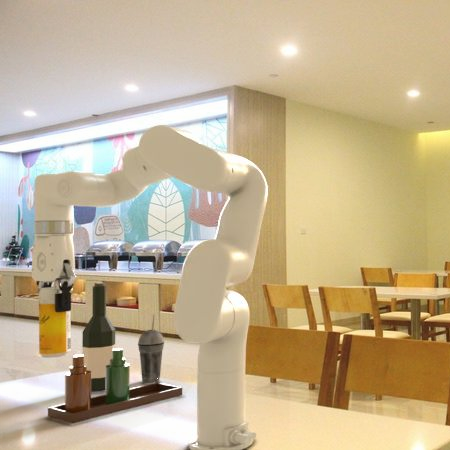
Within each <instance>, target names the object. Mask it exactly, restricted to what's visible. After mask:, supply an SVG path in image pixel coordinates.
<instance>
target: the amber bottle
mask: <svg viewBox="0 0 450 450" xmlns="http://www.w3.org/2000/svg"><path fill="white" fill-rule="evenodd" d="M91 398H92V392H91V371H89V370H87V365H84V355H82V354H75V355H73V356H72V365H71V366H69V371H68V372H66V373H64V404H65V411H67V412H71V413H76V412H80V411H84V410H89V409H91Z"/></svg>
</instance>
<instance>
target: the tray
mask: <svg viewBox="0 0 450 450" xmlns="http://www.w3.org/2000/svg"><path fill="white" fill-rule="evenodd" d="M182 395H183V387H182V386H177V385H173V384H168V383H164V382H160V381H159V382H157V383H155V382H153V383H148V384H145V385H141V386H136V387H131V388H129V400H125V401H121V402H117V403H113V404H109V405H105V394H102V395H101V394H100V395H97V396H91V409H89V410H84V411H80V412H76V413H71V412H67V411H65V403H62V404H57V405H53V406H49V407H47V417H49V418H52V419H55V420H59V421H63V422H66V423H69V424H76V423H80V422H83V421H88V420H91V419H95V418H99V417H103V416H108V415H110V414H115V413H118V412H122V411H125V410H130V409H134V408H138V407H141V406H145V405H149V404H153V403H157V402H160V401H164V400H169V399H172V398H177V397H180V396H182Z"/></svg>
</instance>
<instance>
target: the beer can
mask: <svg viewBox="0 0 450 450" xmlns="http://www.w3.org/2000/svg"><path fill="white" fill-rule="evenodd" d="M55 294H58V293H57V290H56V286H53V287H48V288H41V291H40V293H38V341H39V342H38V343H39V344H38V354H39V355H41V358H45V359H46V358H60V357H66V356H68V355H69V353H70V352H71V351H72V340H71V339H72V337H71V335H72V334H71V333H72V331H71V330H72V329H71V328H72V327H71V326H72V325H71V320H72V318H71V313H72V312H71V311H72V310H71V311H66V312H55Z"/></svg>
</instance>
